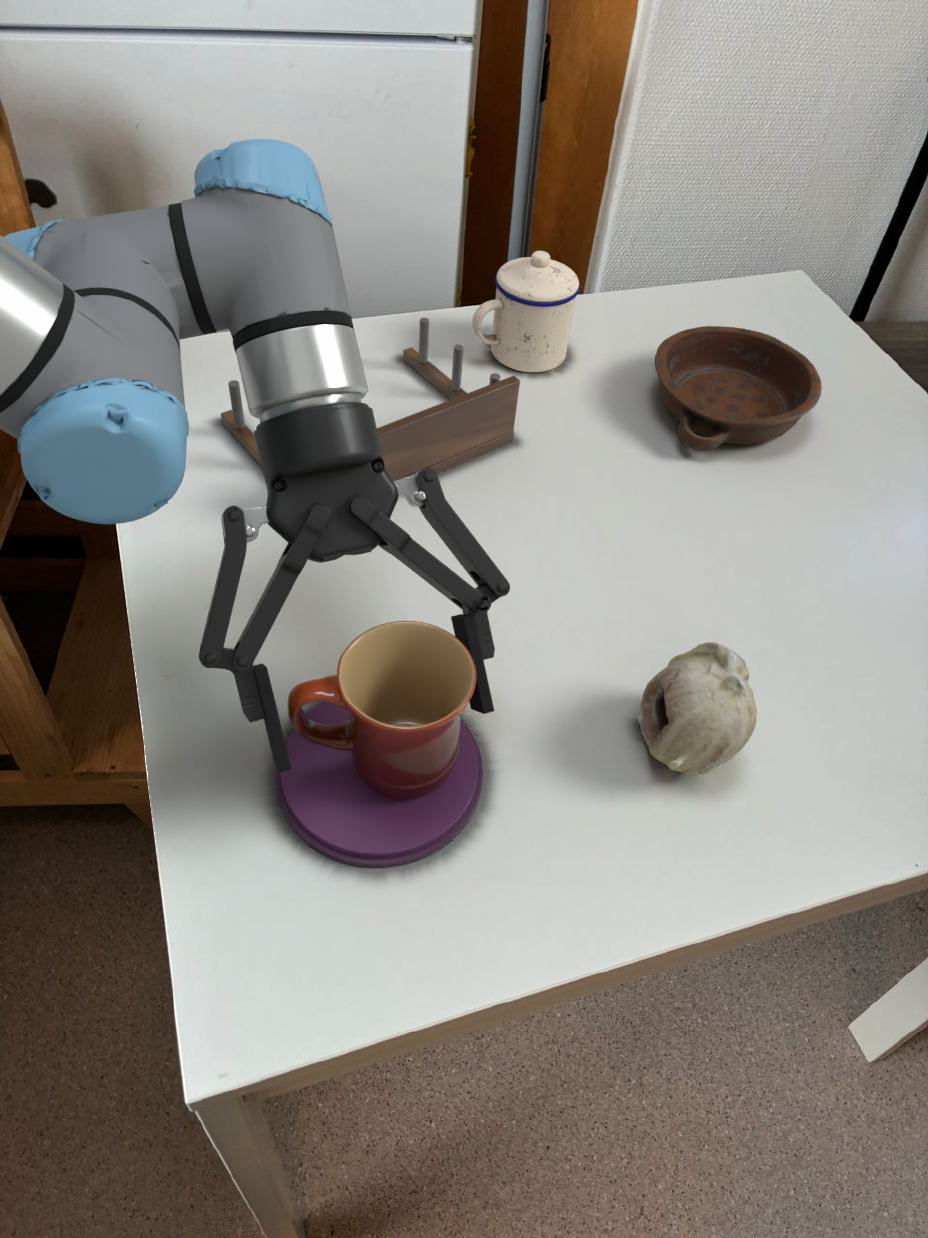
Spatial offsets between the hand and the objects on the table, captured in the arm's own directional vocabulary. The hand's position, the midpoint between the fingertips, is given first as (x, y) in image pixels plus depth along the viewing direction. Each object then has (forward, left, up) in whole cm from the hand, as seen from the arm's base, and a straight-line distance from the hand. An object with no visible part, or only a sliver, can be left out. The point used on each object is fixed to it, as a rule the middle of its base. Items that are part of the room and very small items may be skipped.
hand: (386, 738), depth 59 cm
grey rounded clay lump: (+9, +21, -7) cm, 24 cm away
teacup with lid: (-39, +44, -7) cm, 59 cm away
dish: (-19, +57, -7) cm, 60 cm away
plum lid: (-2, +1, -7) cm, 7 cm away
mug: (-2, +1, -6) cm, 6 cm away
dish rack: (-36, +22, -7) cm, 42 cm away
